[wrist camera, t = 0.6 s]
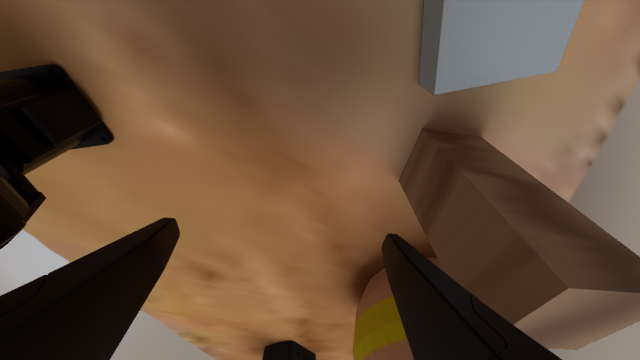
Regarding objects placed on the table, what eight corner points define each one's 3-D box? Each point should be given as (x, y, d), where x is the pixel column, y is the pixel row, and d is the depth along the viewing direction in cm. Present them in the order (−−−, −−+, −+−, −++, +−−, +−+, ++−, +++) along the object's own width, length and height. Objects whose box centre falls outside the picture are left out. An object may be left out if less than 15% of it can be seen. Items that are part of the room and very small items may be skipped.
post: (398, 180, 25) (481, 346, 12) (422, 128, 21) (568, 287, 9) (450, 187, 25) (576, 349, 13) (481, 137, 22) (692, 296, 10)
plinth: (418, 84, 19) (434, 95, 16) (427, -52, 14) (450, -65, 12) (523, 63, 18) (556, 71, 15) (569, -88, 13) (627, -110, 11)
